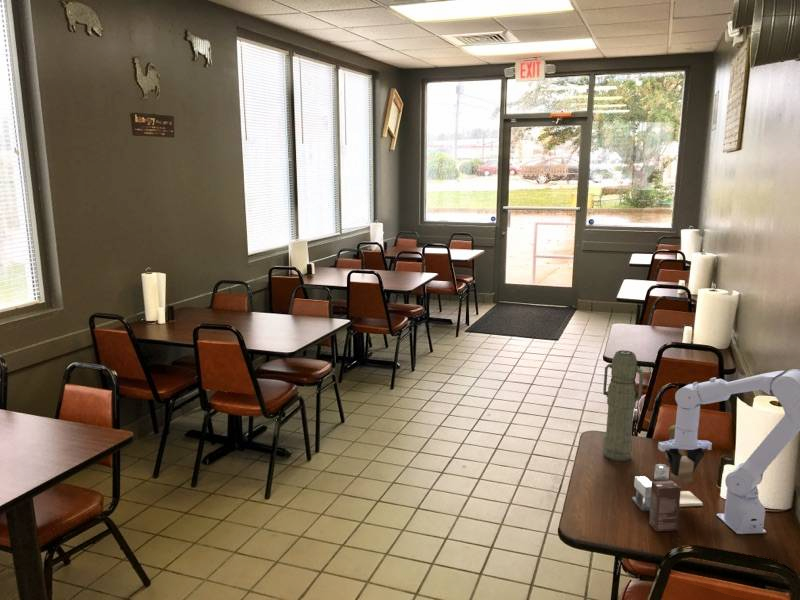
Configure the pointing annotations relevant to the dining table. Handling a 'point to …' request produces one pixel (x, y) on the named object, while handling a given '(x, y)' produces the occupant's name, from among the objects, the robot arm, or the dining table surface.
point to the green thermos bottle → (621, 405)
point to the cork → (672, 435)
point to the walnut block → (684, 470)
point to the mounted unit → (642, 492)
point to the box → (664, 505)
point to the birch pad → (689, 499)
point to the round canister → (661, 472)
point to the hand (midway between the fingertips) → (682, 473)
